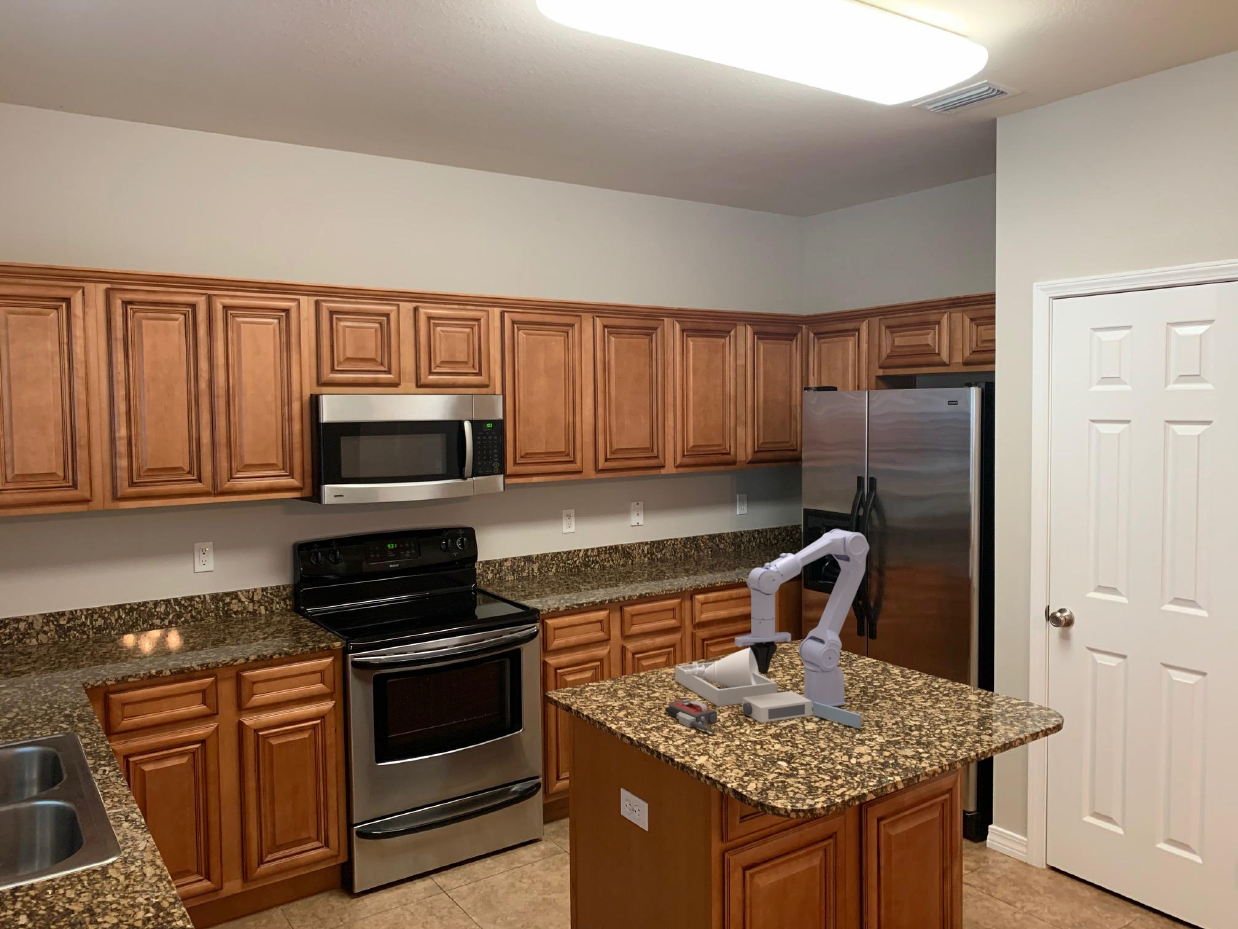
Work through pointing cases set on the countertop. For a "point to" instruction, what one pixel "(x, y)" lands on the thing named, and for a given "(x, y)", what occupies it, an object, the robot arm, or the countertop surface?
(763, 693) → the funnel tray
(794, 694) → the white box with knob
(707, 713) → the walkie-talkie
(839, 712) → the side door
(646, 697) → the countertop surface
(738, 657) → the rocket engine
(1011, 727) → the countertop surface
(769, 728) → the countertop surface
